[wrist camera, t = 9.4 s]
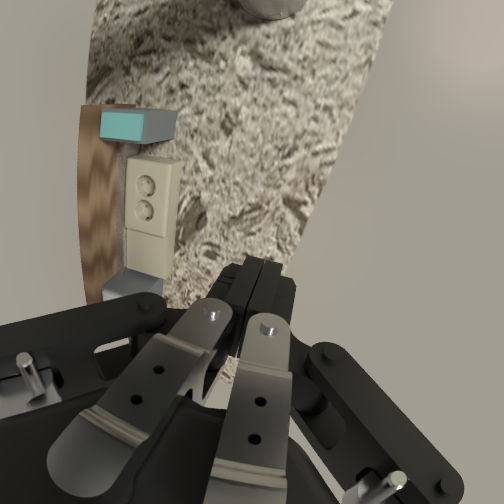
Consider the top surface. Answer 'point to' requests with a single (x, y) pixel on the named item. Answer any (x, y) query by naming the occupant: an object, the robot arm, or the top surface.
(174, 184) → the electrical outlet
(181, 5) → the top surface
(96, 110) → the mounting panel
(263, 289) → the robot arm
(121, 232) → the metal rail
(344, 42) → the top surface
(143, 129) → the module
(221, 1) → the top surface
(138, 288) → the block
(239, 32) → the top surface
